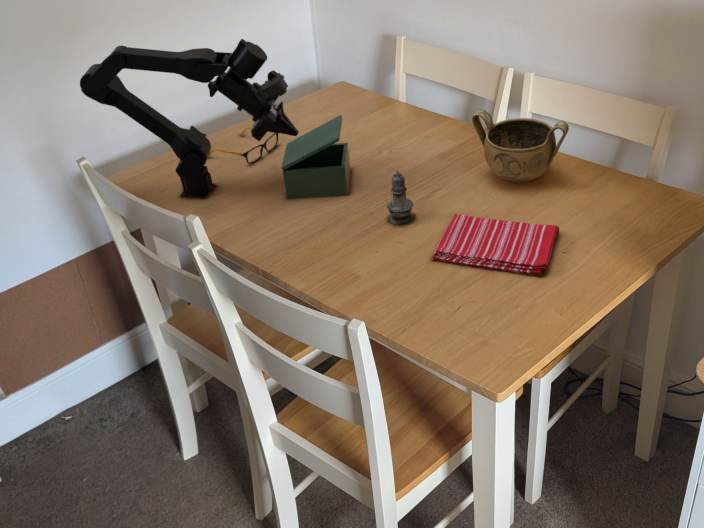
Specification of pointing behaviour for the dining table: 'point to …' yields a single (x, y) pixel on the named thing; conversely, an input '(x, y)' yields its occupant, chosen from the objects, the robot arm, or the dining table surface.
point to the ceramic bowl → (518, 146)
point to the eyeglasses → (251, 149)
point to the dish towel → (497, 244)
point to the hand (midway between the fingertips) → (297, 134)
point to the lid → (312, 142)
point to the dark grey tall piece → (399, 202)
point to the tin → (320, 174)
